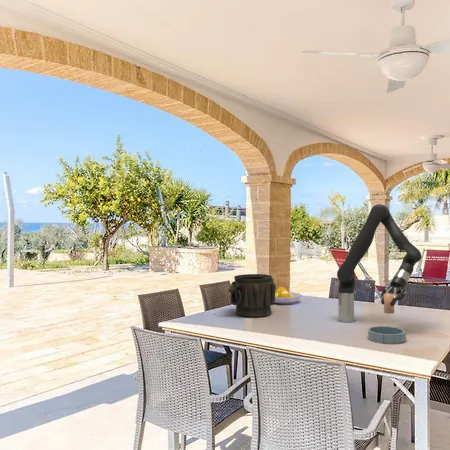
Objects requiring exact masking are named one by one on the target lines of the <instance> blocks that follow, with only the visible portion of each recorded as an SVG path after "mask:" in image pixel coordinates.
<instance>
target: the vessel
mask: <svg viewBox="0 0 450 450" xmlns="http://www.w3.org/2000/svg"><path fill="white" fill-rule="evenodd" d="M233 279H234V280H233V281H232V282H231V284H230V287H229V288H228V290H227V291H228V292H229V293H230V304H232V305H233V306H235V314H236V315H240V316H243V317H265V316H266V317H267V316H270V315H271V314H272V309H271V306H273V304H275V303H274V301H275V292H276V290H277V289H276V287H277V286H276V284H275V282H274V278H273V276H272V275H270V274H265V273H264V274H263V273H246V274H238V275H234V276H233Z"/></svg>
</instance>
